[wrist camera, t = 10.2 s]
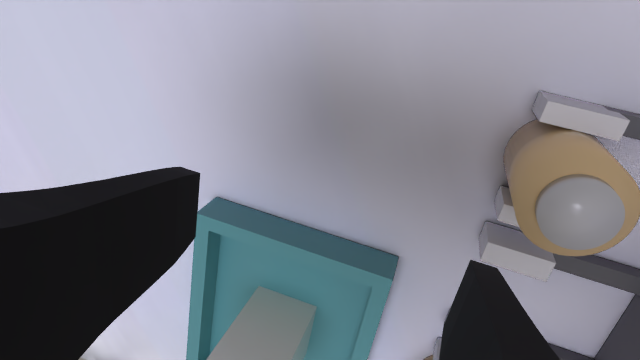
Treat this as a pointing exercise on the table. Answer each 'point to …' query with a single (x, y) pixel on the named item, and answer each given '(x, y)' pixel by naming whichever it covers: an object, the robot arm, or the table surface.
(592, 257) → the holder block
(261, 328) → the block
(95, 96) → the table surface
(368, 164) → the table surface
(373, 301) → the tray
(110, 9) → the table surface
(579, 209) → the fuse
